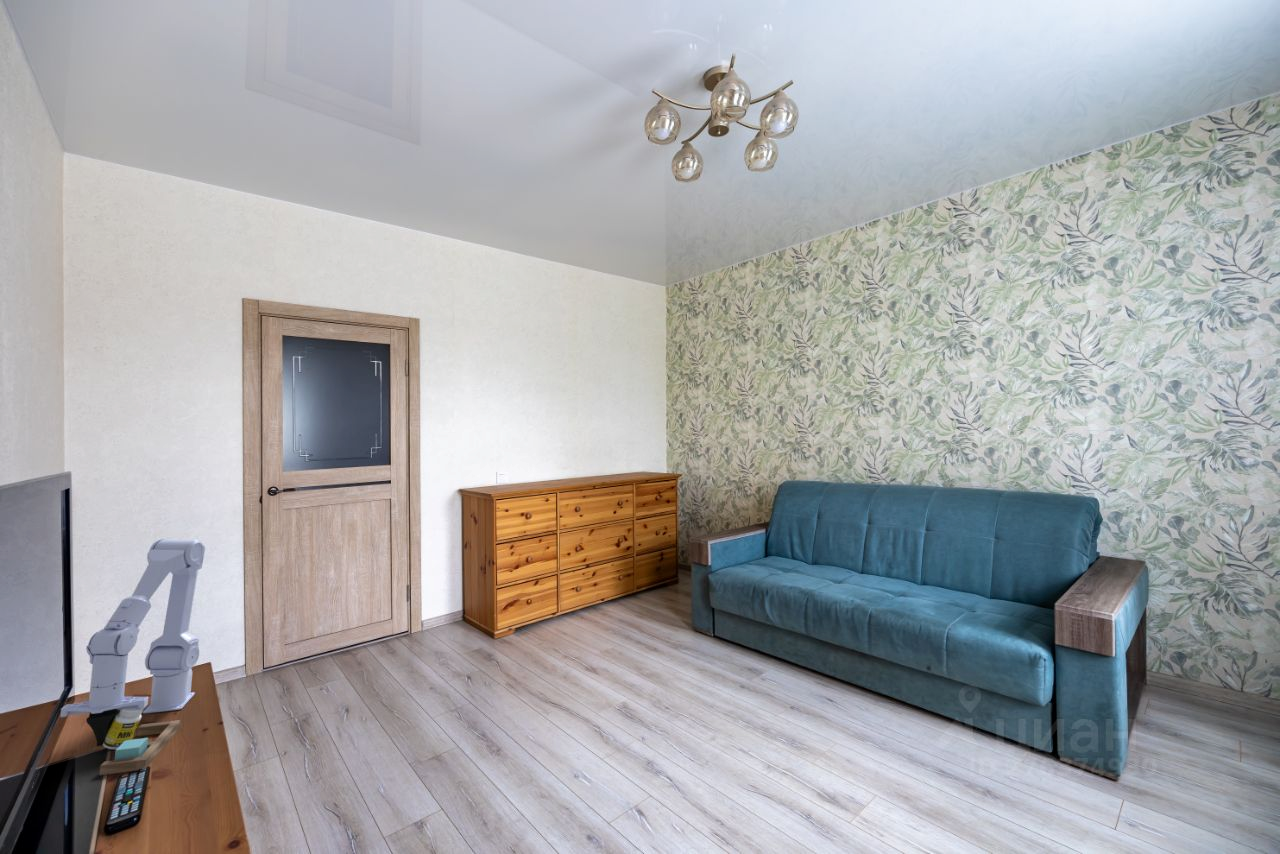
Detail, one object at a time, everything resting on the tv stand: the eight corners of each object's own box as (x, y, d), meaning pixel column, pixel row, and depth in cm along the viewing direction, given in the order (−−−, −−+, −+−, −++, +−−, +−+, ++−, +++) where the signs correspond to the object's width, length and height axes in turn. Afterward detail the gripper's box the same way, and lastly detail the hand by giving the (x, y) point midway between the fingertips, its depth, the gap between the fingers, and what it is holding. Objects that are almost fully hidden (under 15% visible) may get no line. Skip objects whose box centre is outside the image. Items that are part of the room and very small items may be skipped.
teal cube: (123, 759, 117) (125, 740, 117) (146, 755, 119) (148, 737, 119) (113, 769, 113) (115, 750, 114) (137, 766, 115) (139, 747, 115)
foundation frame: (140, 733, 127) (141, 724, 127) (179, 728, 130) (180, 720, 130) (99, 775, 111) (100, 765, 111) (145, 769, 114) (145, 759, 114)
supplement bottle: (111, 752, 118) (127, 714, 119) (97, 743, 120) (113, 706, 121) (135, 744, 123) (151, 708, 124) (121, 736, 124) (137, 699, 125)
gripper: (54, 693, 115) (47, 758, 114) (140, 686, 120) (133, 747, 119) (74, 680, 121) (67, 741, 120) (154, 673, 127) (149, 732, 126)
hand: (101, 743), depth 120 cm, fingers closed, pressing on supplement bottle
